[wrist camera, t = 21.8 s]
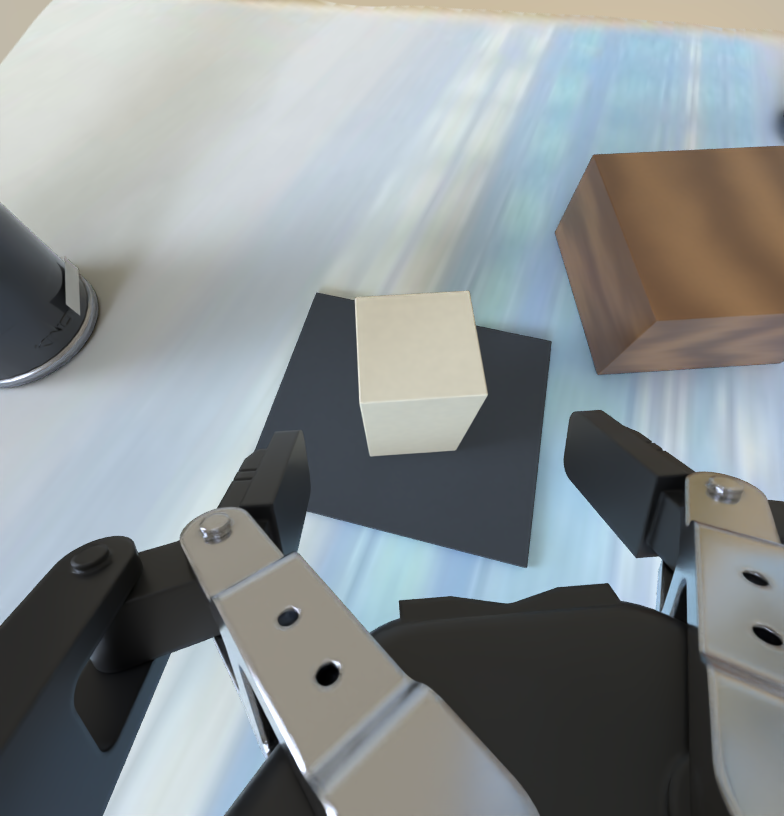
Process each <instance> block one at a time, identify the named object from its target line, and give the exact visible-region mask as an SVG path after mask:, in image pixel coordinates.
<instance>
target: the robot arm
mask: <svg viewBox="0 0 784 816" xmlns="http://www.w3.org/2000/svg"><path fill="white" fill-rule="evenodd" d="M97 316H98V300H97V296H96V293H95V291H94V289H93V288H92V286H91V285H90V283H89V282H88V281H87V280H86V279H85V278H84V277H82V276H81V275H80V274H79V269H78V268H77V267H76V266H74V265H73V264H72V263H71V262H70V261H69V260H68V259H67V258H66V257H65V262H64V261H63V260H62V259H61V258H60V257H58V256H57V255H56V254H55V253H54V252H53V251H52V250H51V249H50V248H49V247H48V246H47V245H45V244H44V243H43V242H42V240H40V239H39V238H38V237H37V236H36V235H35V234H34V233H33V232H32V231H31V230H30V229H29V228H28V227H26V226H25V225H24V224H23V223H22V222H21V221H20V220H19V219H18V218H17V217H16V216H15V215H14V214H12V213H11V212H10V211H9V210H8V209H7V208H6V207H5V206H4V205H3V204H2V203H1V202H0V388H8V387H15V386H20V385H24V384H27V383H30V382H33V381H36V380H38V379H40V378H43V377H45V376H47V375H49V374H50V373H52V372H54V371H56V370H57V369H58V368H60V367H61V366H63V365H64V364H65V363H67V362H68V361H69V360H70V359H71V358H72V357H74V356H75V355H76V354H77V352H78V351H79V350H80V349H81V348H82V347H83V346H84V344H85V343H86V341H87V340H88V338H89V337H90V335H91V333H92V331H93V329H94V327H95V324H96V321H97ZM564 468H565V472H566V474H567V476H568V478H569V479H570V480H571V482H572V483H573V484H574V485H575V486H576V488H577V489H578V490H579V491H580V492H581V493H582V495H583V496H584V497H585V498H586V499H587V501H588V502H589V503H590V504H591V505H592V506H593V508H594V509H595V510H596V511H597V512H598V514H599V515H600V516H601V517H602V518H603V519H604V521H605V522H606V523H607V524H608V525H609V527H610V528H611V529H612V530H613V531H614V532H615V534H616V535H617V536H618V537H619V538H620V540H621V541H622V542H623V543H624V544H625V545H626V547H627V548H628V549H629V550H630V551H631V553H632V554H633V555H634V556H635V557H636V558H644V557H656V556H659V557H660V558H661V559H662V561H661V564H660V567H659V571H658V584H657V599H656V610H654V609H651V608H648V607H645V606H642V605H638V604H634V603H629V602H624V601H620V599H619V598H618V597H617V595H616V594H615V592H614V591H613V589H612V588H611V587H610V585H609V584H608V583H605V584H593V585H580V586H568V587H557V588H554V589H551V590H549V591H546V592H543V593H540V594H537V595H534V596H531V597H528V598H525V599H523V600H520V601H517V602H514V603H508V604H506V603H497V602H490V601H482V600H475V599H468V598H460V597H453V596H448V597H436V598H424V599H412V600H400V601H399V610H400V618H399V619H396V620H393V621H391V622H388V623H386V624H384V625H382V626H380V627H378V628H377V629H375V630H373V631H372V632H370V633H369V632H368V631H367V630H366V629H365V628H364V626H363V625H362V624H361V623H360V622H359V621H358V620H357V618H356V617H355V616H354V615H353V614H352V613H351V612H350V611H349V609H348V608H347V607H346V606H345V605H344V604H343V603H342V602H341V600H340V599H339V598H338V597H337V596H336V595H335V594H334V593H333V591H332V590H331V589H330V588H329V587H328V586H327V585H326V583H325V582H324V581H323V580H322V579H321V578H320V577H319V576H318V574H317V573H316V572H315V571H314V570H313V569H312V568H311V567H310V565H309V564H308V563H307V562H306V561H305V560H304V559H303V558H302V556H301V555H300V554H298V553H297V551H298V546H299V542H300V538H301V533H302V529H303V525H304V520H305V516H306V512H307V507H308V503H309V499H310V492H311V481H310V472H309V466H308V460H307V453H306V447H305V440H304V435H303V432H302V430H292V431H278V432H275V433H274V435H273V437H272V439H271V441H270V443H269V445H268V447H267V449H257V450H256V451H255V452H253V453H252V454H251V455H250V456H248V457H247V458H246V459H245V460H244V462H243V463H242V465H241V467H240V469H239V472H237V474H236V476H235V478H234V481H232V483H231V485H230V486H229V488H228V490H227V492H226V493H225V495H224V497H223V499H222V500H221V502H220V504H219V506H218V507H217V509H214V510H211V511H208V512H206V513H204V514H202V515H200V516H198V517H197V518H195V519H194V520H192V521H191V522H190V523H189V524H188V525H187V526H186V527H185V528H184V529H183V531H182V532H181V535H180V540H179V541H177V542H173V543H170V544H167V545H163V546H160V547H156V548H153V549H149V550H146V551H142V552H139V553H138V551H137V549H136V546H135V544H134V542H133V541H132V539H130V538H128V537H124V536H112V537H106V538H102V539H98V540H95V541H92V542H90V543H87V544H85V545H83V546H81V547H79V548H77V549H75V550H74V551H72V552H70V553H69V554H67V555H66V556H64V557H63V558H62V559H61V560H60V561H58V562H57V563H56V564H55V565H54V566H53V568H52V569H51V570H50V571H49V572H48V573H47V574H46V575H45V576H44V578H43V579H42V580H41V581H40V582H39V583H38V584H37V585H36V587H35V588H34V589H33V590H32V591H31V592H30V593H29V594H28V595H27V597H26V598H25V599H24V600H23V601H22V602H21V603H20V604H19V606H18V607H17V608H16V609H15V610H14V611H13V612H12V613H11V614H10V616H9V617H8V618H7V619H6V620H5V621H4V622H3V623H2V625H1V626H0V816H103V814H104V811H105V809H106V807H107V804H108V802H109V800H110V797H111V795H112V792H113V790H114V788H115V785H116V783H117V780H118V778H119V776H120V773H121V771H122V769H123V766H124V764H125V761H126V759H127V757H128V754H129V752H130V749H131V747H132V745H133V742H134V740H135V738H136V735H137V733H138V730H139V728H140V726H141V723H142V721H143V718H144V716H145V714H146V711H147V709H148V707H149V704H150V702H151V699H152V697H153V695H154V692H155V690H156V687H157V685H158V683H159V680H160V678H161V676H162V673H163V671H164V668H165V666H166V664H167V661H168V659H169V656H170V654H171V653H172V652H175V651H178V650H180V649H183V648H186V647H189V646H191V645H194V644H197V643H199V642H202V641H205V640H207V639H210V638H213V641H214V643H215V645H216V647H217V649H218V652H219V654H220V656H221V658H222V660H223V662H224V665H225V667H226V669H227V671H228V673H229V676H230V678H231V680H232V682H233V684H234V686H235V689H236V691H237V693H238V695H239V697H240V699H241V702H242V704H243V706H244V709H245V711H246V713H247V716H248V718H249V721H250V724H251V726H252V729H253V731H254V734H255V736H256V739H257V741H258V744H259V746H260V748H261V751H262V753H263V755H264V757H265V760H266V761H265V762H264V763H263V765H262V766H261V767H260V769H259V770H258V771H257V773H256V774H255V775H254V777H253V778H252V779H251V781H250V782H249V783H248V785H247V786H246V787H245V789H244V790H243V791H242V793H241V794H240V795H239V796H238V798H237V799H236V800H235V802H234V803H233V804H232V806H231V807H230V808H229V810H228V811H227V812H226V814H225V815H224V816H784V502H783V501H774V500H767V498H766V496H765V495H764V493H763V492H762V491H760V490H759V489H758V488H756V487H755V486H753V485H751V484H749V483H747V482H745V481H743V480H741V479H738V478H735V477H732V476H729V475H725V474H720V473H714V472H695V471H693V470H692V469H690V468H689V467H688V466H686V465H685V464H683V463H682V462H680V461H679V460H678V459H676V458H675V457H673V456H672V455H671V454H669V453H668V452H666V451H663V450H662V448H661V447H659V446H658V445H656V444H655V443H652V441H651V440H649V439H648V438H646V437H645V436H644V435H642V434H641V433H639V432H637V431H635V430H633V429H630V428H628V427H625V426H623V425H622V424H620V423H619V422H617V421H616V420H615V419H613V418H612V417H611V416H609V415H608V414H606V413H605V412H604V411H602V410H592V411H577V412H573V413H572V414H571V416H570V419H569V425H568V432H567V439H566V446H565V452H564Z"/></svg>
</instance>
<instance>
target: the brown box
mask: <svg viewBox="0 0 784 816" xmlns="http://www.w3.org/2000/svg"><path fill="white" fill-rule="evenodd" d="M555 235H556V238H557V241H558V245H559V248H560V251H561V255H562V258H563V261H564V265H565V268H566V271H567V275H568V278H569V281H570V285H571V288H572V292H573V295H574V298H575V302H576V305H577V308H578V312H579V315H580V318H581V322H582V325H583V328H584V332H585V335H586V338H587V342H588V345H589V348H590V352H591V355H592V358H593V362H594V365H595V368H596V372H597V374H598V375H603V374H619V373H634V372H650V371H665V370H681V369H697V368H712V367H728V366H743V365H759V364H775V363H781V362H783V361H784V146H767V147H746V148H724V149H703V150H681V151H660V152H639V153H617V154H596V155H593V156H592V158H591V160H590V162H589V164H588V166H587V168H586V170H585V172H584V174H583V176H582V178H581V180H580V182H579V184H578V186H577V188H576V190H575V192H574V194H573V196H572V198H571V200H570V202H569V204H568V207H567V209H566V211H565V213H564V215H563V217H562V219H561V221H560V223H559V225H558V227H557V229H556V231H555Z"/></svg>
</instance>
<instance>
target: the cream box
mask: <svg viewBox="0 0 784 816" xmlns="http://www.w3.org/2000/svg"><path fill="white" fill-rule="evenodd" d="M355 315H356V337H357V359H358V382H359V403H360V408H361V413H362V418H363V423H364V429H365V434H366V439H367V444H368V449H369V454H370V456H384V455H398V454H413V453H427V452H441V451H455V450H456V449H457V448H458V446H459V444H460V442H461V441H462V439H463V437H464V435H465V434H466V432H467V430H468V428H469V427H470V425H471V423H472V422H473V420H474V418H475V416H476V415H477V413H478V411H479V409H480V408H481V406H482V404H483V403H484V401H485V399H486V397H487V396H488V391H487V386H486V380H485V375H484V369H483V364H482V358H481V352H480V347H479V341H478V336H477V330H476V325H475V319H474V313H473V308H472V302H471V297H470V292H469V291H454V292H437V293H419V294H402V295H384V296H367V297H355Z"/></svg>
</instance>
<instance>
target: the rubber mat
mask: <svg viewBox="0 0 784 816" xmlns="http://www.w3.org/2000/svg"><path fill="white" fill-rule="evenodd" d="M476 330H477V336H478V341H479V347H480V352H481V358H482V364H483V369H484V375H485V380H486V386H487V391H488V396H487V397H486V399H485V401H484V403H483V404H482V406H481V408H480V409H479V411H478V413H477V415H476V416H475V418H474V420H473V422H472V423H471V425H470V427H469V428H468V430H467V432H466V434H465V435H464V437H463V439H462V441H461V442H460V444H459V446H458V448H457V449H456V450H455V451H441V452H427V453H413V454H398V455H384V456H370V454H369V449H368V444H367V439H366V434H365V429H364V423H363V418H362V413H361V408H360V403H359V382H358V359H357V337H356V315H355V300H350V299H345V298H341V297H336V296H331V295H326V294H321V293H316V295H315V298H314V300H313V303H312V305H311V308H310V310H309V313H308V316H307V318H306V321H305V323H304V326H303V328H302V331H301V333H300V336H299V339H298V341H297V344H296V346H295V349H294V351H293V354H292V356H291V359H290V362H289V364H288V367H287V369H286V372H285V374H284V377H283V380H282V382H281V385H280V387H279V390H278V392H277V395H276V397H275V400H274V403H273V405H272V408H271V410H270V413H269V415H268V418H267V421H266V423H265V426H264V428H263V431H262V433H261V436H260V438H259V441H258V444H257V446H256V449H255V451H256V450H257V449H267V447H268V445H269V443H270V441H271V439H272V437H273V435H274V433H275V432H278V431H292V430H302V432H303V435H304V440H305V447H306V453H307V460H308V466H309V472H310V481H311V492H310V499H309V503H308V507H307V511H308V512H312V513H316V514H319V515H323V516H327V517H331V518H335V519H339V520H343V521H346V522H350V523H354V524H358V525H362V526H366V527H370V528H373V529H377V530H381V531H385V532H389V533H393V534H397V535H400V536H404V537H408V538H412V539H416V540H420V541H424V542H427V543H431V544H435V545H439V546H443V547H447V548H451V549H455V550H458V551H462V552H466V553H470V554H474V555H478V556H482V557H485V558H489V559H493V560H497V561H501V562H505V563H509V564H512V565H516V566H520V567H524V568H527V563H528V553H529V544H530V535H531V526H532V517H533V507H534V498H535V489H536V480H537V471H538V462H539V452H540V443H541V434H542V425H543V416H544V406H545V397H546V388H547V379H548V370H549V361H550V351H551V341H547V340H543V339H538V338H533V337H528V336H523V335H519V334H514V333H509V332H504V331H499V330H495V329H490V328H485V327H480V326H476ZM255 451H254V452H255Z"/></svg>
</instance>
